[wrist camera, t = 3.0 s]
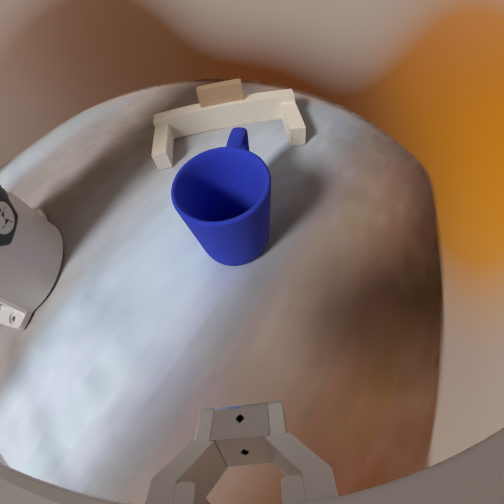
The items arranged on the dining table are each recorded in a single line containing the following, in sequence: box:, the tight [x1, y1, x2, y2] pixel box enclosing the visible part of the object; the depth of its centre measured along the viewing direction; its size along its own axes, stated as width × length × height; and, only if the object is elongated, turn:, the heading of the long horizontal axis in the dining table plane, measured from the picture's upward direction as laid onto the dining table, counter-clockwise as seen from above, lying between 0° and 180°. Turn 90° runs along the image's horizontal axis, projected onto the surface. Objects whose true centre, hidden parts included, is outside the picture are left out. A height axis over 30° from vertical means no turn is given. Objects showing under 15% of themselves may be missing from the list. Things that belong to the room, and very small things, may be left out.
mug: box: [171, 128, 271, 266], centre depth 29 cm, size 8×12×10 cm
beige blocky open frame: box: [151, 78, 306, 170], centre depth 37 cm, size 20×8×7 cm, turn 98°
